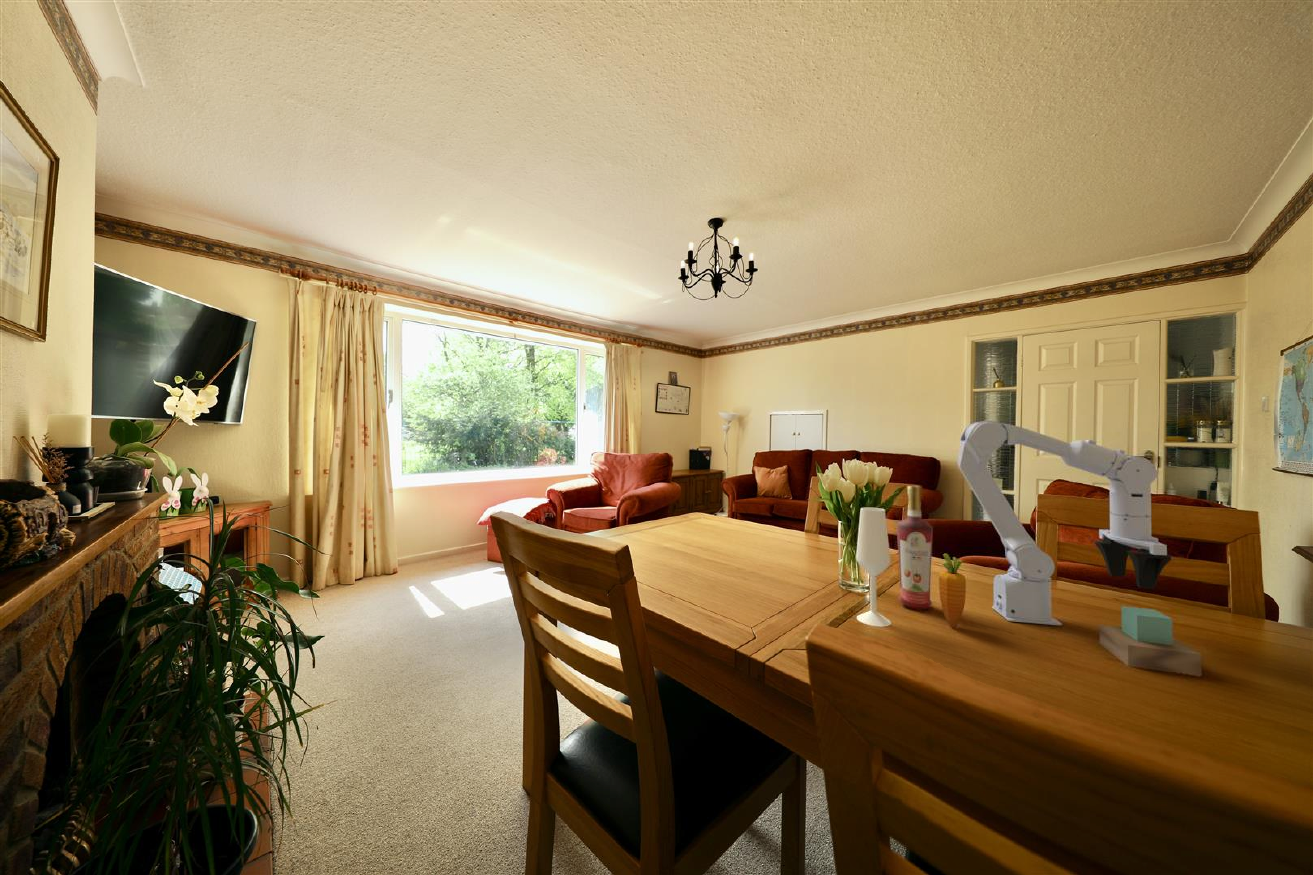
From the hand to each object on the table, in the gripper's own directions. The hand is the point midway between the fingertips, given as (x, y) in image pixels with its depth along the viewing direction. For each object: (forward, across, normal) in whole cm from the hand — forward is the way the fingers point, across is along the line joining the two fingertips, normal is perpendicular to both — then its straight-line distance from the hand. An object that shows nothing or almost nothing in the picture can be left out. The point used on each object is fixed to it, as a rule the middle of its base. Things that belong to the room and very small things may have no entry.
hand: (1130, 582), depth 89 cm
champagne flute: (+10, -7, +49) cm, 51 cm away
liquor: (+10, +4, +38) cm, 40 cm away
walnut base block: (+10, -13, +6) cm, 18 cm away
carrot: (+10, -7, +34) cm, 36 cm away
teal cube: (+6, -13, +6) cm, 15 cm away
